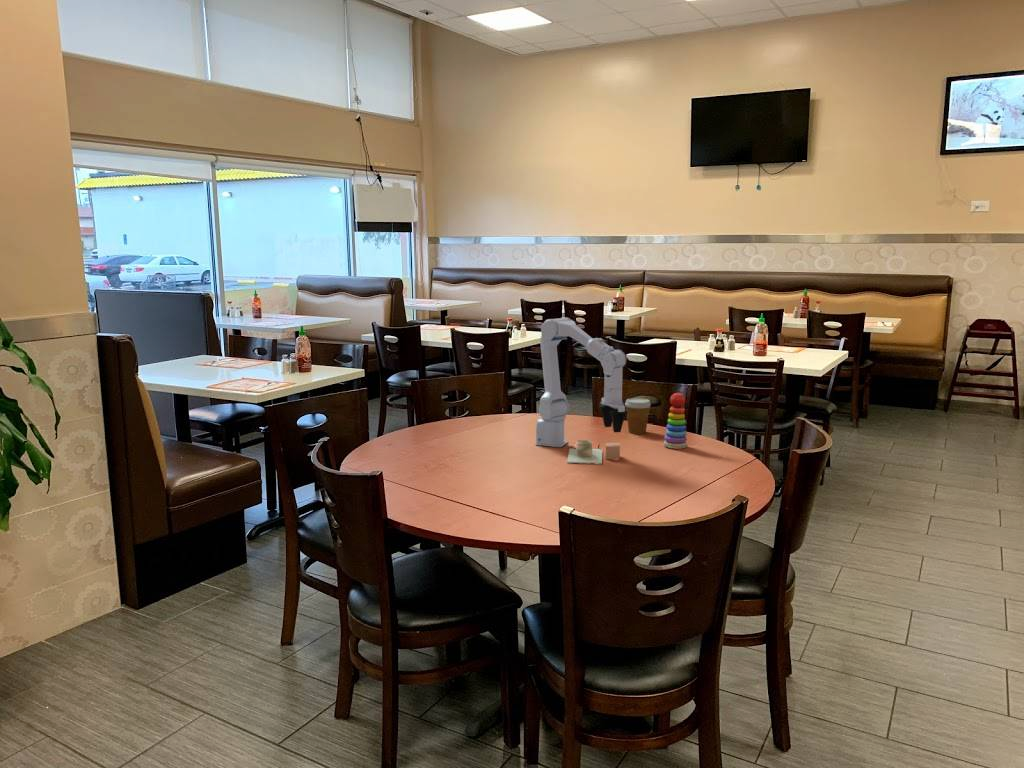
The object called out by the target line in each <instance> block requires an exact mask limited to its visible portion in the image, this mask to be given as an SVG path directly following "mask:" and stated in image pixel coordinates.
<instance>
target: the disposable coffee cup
mask: <svg viewBox="0 0 1024 768" xmlns="http://www.w3.org/2000/svg"><path fill="white" fill-rule="evenodd" d="M651 405H652V403H651V401H650V399H647V398H642V397H638V398H637V397H634V398H627V399H626V400H625V403H624V406H625V411H627V412H628V414H627V415H626V419H627V428H628V433H629V432H630V434H634V435H643V433H644V434H646V433H645V432H647V428H648V419H649V412H650V408H651Z"/></svg>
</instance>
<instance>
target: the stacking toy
mask: <svg viewBox="0 0 1024 768" xmlns="http://www.w3.org/2000/svg"><path fill="white" fill-rule="evenodd" d="M669 403H670V404H671V406H670V408H669V413H668V419H667V425H666V428H667V429H666V430H665V435H664V436H663V437H664V441H663V446H664V447H665V448H667V447H668V449H672V448H673V450H682V448H683V449H686V448H687V446H688V442H687V438H688V437H687V430H686V429H687V426H686V419H685V418H686V416H685V412H686V409H685V407H683V406H684V405H685V404H686V398H685V396H684V394H683V393H680V392H675V393H673V394H671V396H670V399H669Z"/></svg>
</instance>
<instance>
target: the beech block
mask: <svg viewBox="0 0 1024 768" xmlns="http://www.w3.org/2000/svg"><path fill="white" fill-rule="evenodd" d="M577 443H578V446H577V454H578V457H592V443H593V441H592V440H590V439H589V440H588V439H586V440H583V439H581V440H579V439H578V440H577Z"/></svg>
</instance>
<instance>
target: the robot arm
mask: <svg viewBox="0 0 1024 768" xmlns="http://www.w3.org/2000/svg"><path fill="white" fill-rule="evenodd" d="M540 331H541V333H540V334H541V336H540V341H539V342H540V343H539V344H540V355H541V363H542V372H543V373H542V375H543V383H544V393H543V394H542V396H541V397H540V399H539V402H540V403H539V408H538V412H539V415H540V418H538V419H537V422H536V427H535V428H536V431H535V432H536V433H535V436H536V437H535V439H536V440H535V441H536V443H535V446H540V447H541V446H545V447H553V448H563V446H566V444H568V443H569V441H568V440H565V420H566V418H567V417H566V416H567V415H568V414H569V411H570V405H569V403H568V401H567V395H566V394H565V393H564V392H563V391H562V388H561V387H562V386H561V380H560V379H561V377H560V367H559V357H558V347H557V346H558V345H559V344H560V342H561V341H562V340H564V339H565V338H567V337H570V338H572V339H573V340H574V341H576V342H578V343H579V344H581V345H582V346H584V347H585V348H586V351H587V353H588V354H589V355H590V356H592V357H593V358H595V359H596V360H597V361H599V362H600V364H601V367H602V369H603V372H602V373H603V374H604V377H603V378H604V381H603V383H604V385H603V386H604V387H603V391H604V392H603V397H601V401H600V404H599V405H598V409H599V411H600V413H601V416H602V417H601V418H602V421H603V425H604V427H605V428H611V427H612V431H613V433H621V431H622V428H623V425H624V422H625V419H626V418H627V414H628V412H627V411H626V405H625V404H624V402H623V370H624V369H623V367H624V366H625V365H626V364H627V356H626V354H625V352H624V351H623V350H621V349H614V347H613V346H610V345H608V344H607V343H606V342H605V341H604V339H603V338H601V337H599V338H598V337H595V338H594V337H592V336H590V335H589V334H588V333H587V332H585V331H584V330H583V329H582V328H581V327H579V326H578V325H577V324H576V321H574V320H572V319H571V318H569V317H566V316H565V317H560V318H549V319H545V321H544V322H543V323H542V324H541V325H540Z"/></svg>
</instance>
